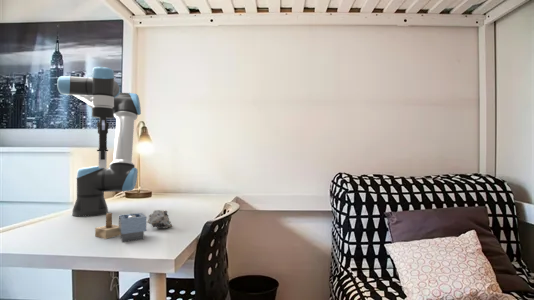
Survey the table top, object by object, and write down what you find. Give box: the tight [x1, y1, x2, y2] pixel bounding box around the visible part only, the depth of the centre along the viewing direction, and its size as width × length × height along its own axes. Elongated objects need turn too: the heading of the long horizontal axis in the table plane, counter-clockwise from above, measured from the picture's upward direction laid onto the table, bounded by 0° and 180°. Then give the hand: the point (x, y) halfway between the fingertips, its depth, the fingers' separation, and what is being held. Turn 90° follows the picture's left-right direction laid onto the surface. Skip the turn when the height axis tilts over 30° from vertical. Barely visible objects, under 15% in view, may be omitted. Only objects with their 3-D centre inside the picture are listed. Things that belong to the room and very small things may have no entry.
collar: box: [118, 212, 147, 234], centre depth 109 cm, size 8×8×5 cm
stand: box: [94, 212, 121, 240], centre depth 113 cm, size 6×6×8 cm
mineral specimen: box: [146, 209, 173, 229], centre depth 124 cm, size 10×8×10 cm
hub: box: [120, 215, 145, 243], centre depth 109 cm, size 7×7×8 cm
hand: (102, 167), depth 119 cm, fingers closed
